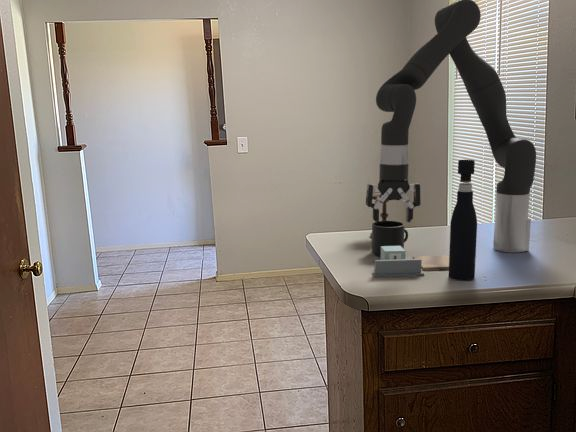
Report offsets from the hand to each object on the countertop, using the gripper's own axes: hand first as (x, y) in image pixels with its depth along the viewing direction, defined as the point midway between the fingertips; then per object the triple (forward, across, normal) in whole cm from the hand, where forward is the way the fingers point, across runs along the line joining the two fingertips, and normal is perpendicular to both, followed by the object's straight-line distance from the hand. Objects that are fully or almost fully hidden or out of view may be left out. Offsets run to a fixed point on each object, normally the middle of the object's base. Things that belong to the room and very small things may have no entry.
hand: (392, 222), depth 151 cm
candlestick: (+13, -5, -35) cm, 38 cm away
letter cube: (+13, 0, 0) cm, 13 cm away
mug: (+13, -3, -15) cm, 20 cm away
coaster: (+13, -13, -2) cm, 18 cm away
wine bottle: (+13, -16, +10) cm, 23 cm away
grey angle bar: (+13, 0, +7) cm, 14 cm away
